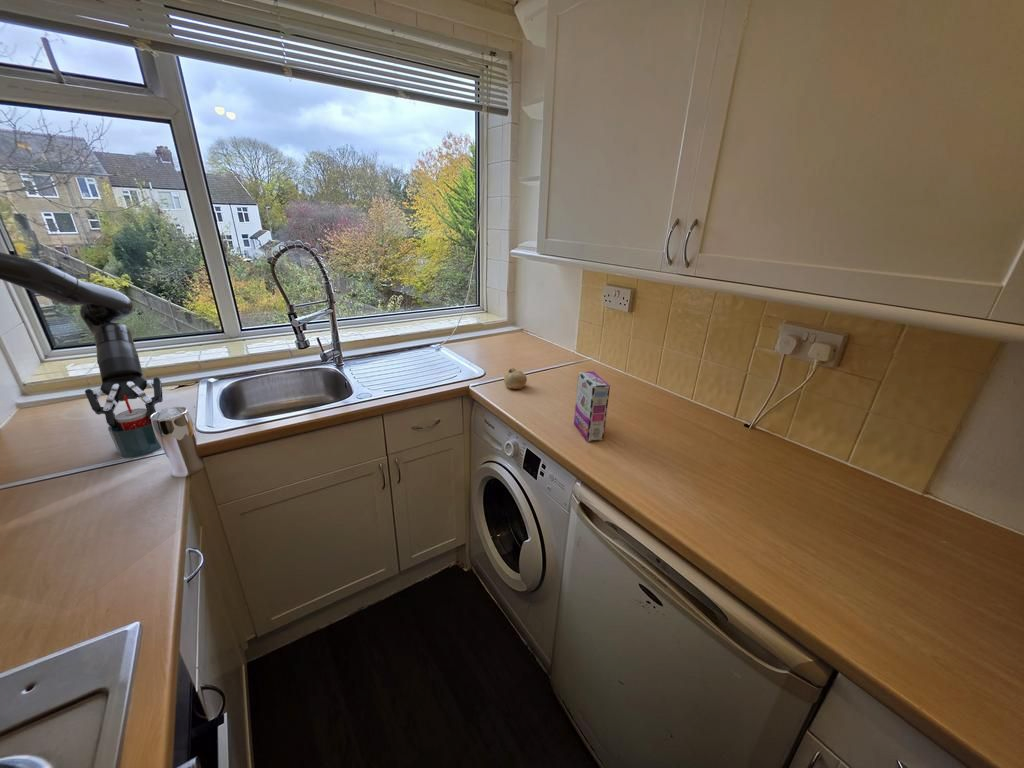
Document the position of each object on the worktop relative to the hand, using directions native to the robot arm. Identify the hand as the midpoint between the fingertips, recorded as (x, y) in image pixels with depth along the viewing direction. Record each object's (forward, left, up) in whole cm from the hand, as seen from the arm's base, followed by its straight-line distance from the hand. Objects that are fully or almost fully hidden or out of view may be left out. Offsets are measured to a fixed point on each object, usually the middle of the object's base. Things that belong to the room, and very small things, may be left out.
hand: (133, 422), depth 98 cm
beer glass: (+1, -17, -9) cm, 19 cm away
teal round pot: (+1, +1, -9) cm, 9 cm away
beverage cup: (+1, +2, -8) cm, 8 cm away
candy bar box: (+61, -97, -9) cm, 114 cm away
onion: (+81, -65, -9) cm, 104 cm away
